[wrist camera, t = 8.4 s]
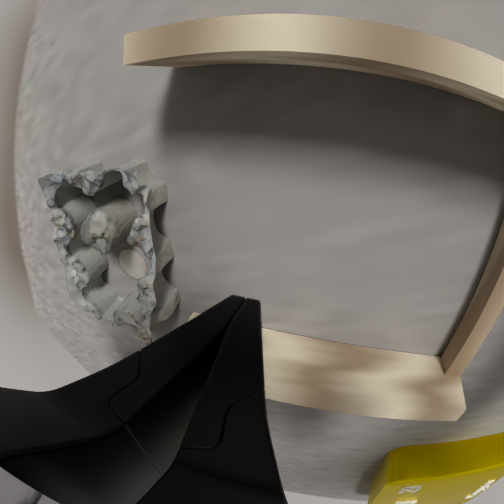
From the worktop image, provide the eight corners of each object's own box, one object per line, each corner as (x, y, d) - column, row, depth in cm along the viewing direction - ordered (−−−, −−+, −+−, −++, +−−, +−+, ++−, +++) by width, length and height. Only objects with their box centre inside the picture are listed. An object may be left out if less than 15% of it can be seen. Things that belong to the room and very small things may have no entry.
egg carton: (187, 318, 20) (157, 362, 16) (102, 289, 21) (69, 322, 18) (178, 157, 14) (126, 183, 11) (77, 152, 16) (27, 173, 12)
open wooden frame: (543, 105, 7) (595, 118, 4) (448, 370, 15) (455, 421, 12) (179, 44, 11) (124, 34, 8) (195, 325, 19) (167, 369, 16)
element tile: (468, 476, 23) (468, 505, 19) (368, 486, 28) (363, 516, 24) (519, 425, 17) (525, 462, 13) (390, 442, 22) (386, 487, 18)
